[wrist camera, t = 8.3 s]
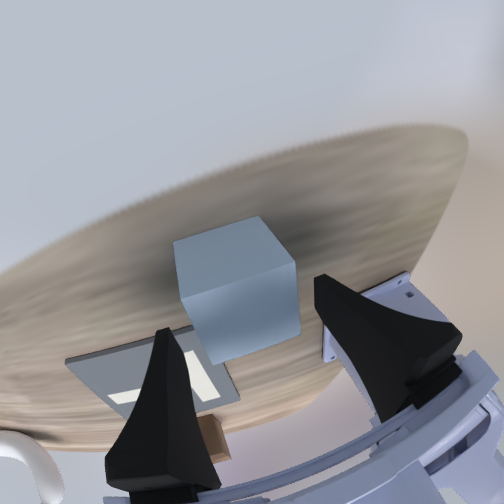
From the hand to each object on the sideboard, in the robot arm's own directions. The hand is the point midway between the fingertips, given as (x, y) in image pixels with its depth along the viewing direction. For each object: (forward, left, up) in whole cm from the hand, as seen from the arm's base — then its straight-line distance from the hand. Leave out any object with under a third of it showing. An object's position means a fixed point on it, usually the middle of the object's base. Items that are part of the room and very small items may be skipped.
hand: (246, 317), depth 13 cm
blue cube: (0, 0, -5) cm, 5 cm away
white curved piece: (+37, +17, -5) cm, 41 cm away
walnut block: (+9, +18, -2) cm, 20 cm away
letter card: (+8, +10, -5) cm, 14 cm away
